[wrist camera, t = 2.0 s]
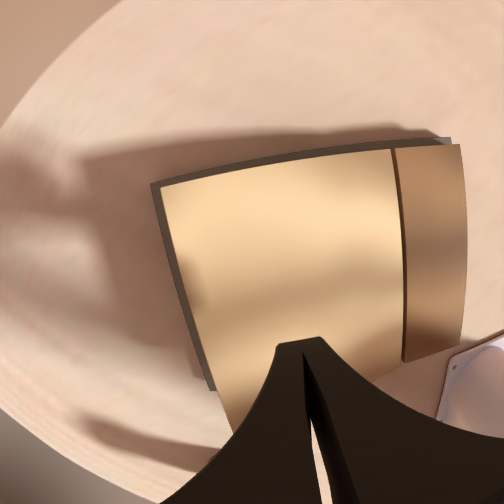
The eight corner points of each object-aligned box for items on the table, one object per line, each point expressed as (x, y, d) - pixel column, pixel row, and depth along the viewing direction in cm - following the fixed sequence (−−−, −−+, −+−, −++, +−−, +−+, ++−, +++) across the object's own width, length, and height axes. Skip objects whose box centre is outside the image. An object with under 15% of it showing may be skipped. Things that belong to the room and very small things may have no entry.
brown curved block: (449, 334, 18) (459, 344, 16) (396, 351, 18) (404, 363, 17) (445, 145, 14) (459, 144, 13) (383, 149, 15) (394, 148, 13)
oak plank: (386, 355, 18) (400, 365, 17) (229, 424, 15) (236, 441, 14) (371, 151, 15) (390, 149, 13) (159, 188, 12) (160, 187, 10)
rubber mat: (447, 331, 19) (453, 338, 18) (212, 382, 20) (210, 391, 19) (442, 138, 15) (450, 137, 14) (156, 183, 17) (150, 183, 16)
